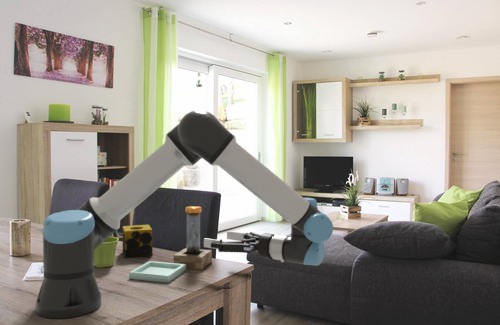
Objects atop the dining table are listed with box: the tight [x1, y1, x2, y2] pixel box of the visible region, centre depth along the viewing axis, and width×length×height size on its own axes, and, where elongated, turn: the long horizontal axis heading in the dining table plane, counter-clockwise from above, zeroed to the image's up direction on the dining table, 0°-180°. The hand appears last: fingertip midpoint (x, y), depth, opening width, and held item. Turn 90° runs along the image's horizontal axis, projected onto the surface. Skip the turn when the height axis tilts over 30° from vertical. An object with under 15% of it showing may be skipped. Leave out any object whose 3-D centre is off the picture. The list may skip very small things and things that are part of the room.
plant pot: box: [94, 236, 120, 268], centre depth 145 cm, size 9×9×9 cm
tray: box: [128, 260, 187, 283], centre depth 136 cm, size 13×13×2 cm
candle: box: [122, 224, 154, 259], centre depth 161 cm, size 10×10×10 cm
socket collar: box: [173, 247, 213, 270], centre depth 148 cm, size 10×10×4 cm
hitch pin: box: [185, 205, 203, 255], centre depth 148 cm, size 5×5×20 cm
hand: (216, 238), depth 143 cm, fingers open, 13 cm apart
